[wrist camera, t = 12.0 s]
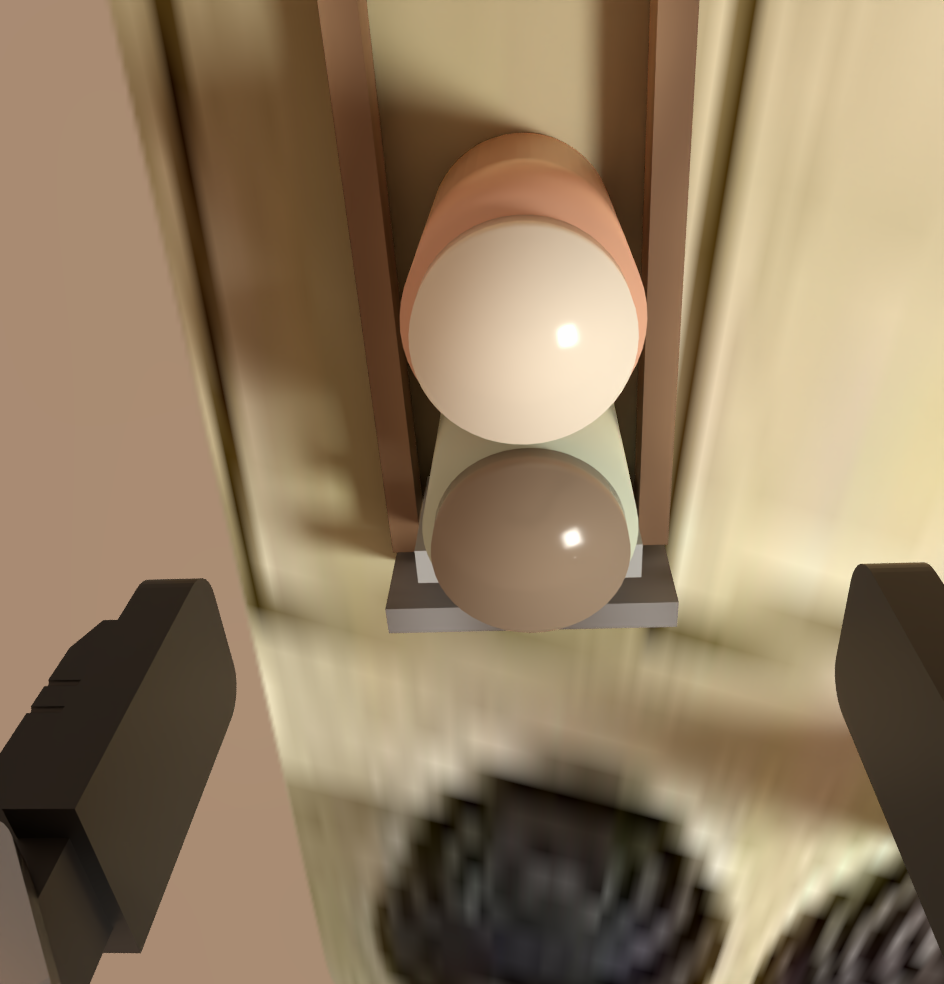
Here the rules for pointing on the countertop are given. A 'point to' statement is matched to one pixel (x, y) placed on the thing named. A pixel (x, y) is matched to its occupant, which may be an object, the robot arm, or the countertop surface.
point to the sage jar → (530, 524)
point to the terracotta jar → (523, 294)
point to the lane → (380, 305)
